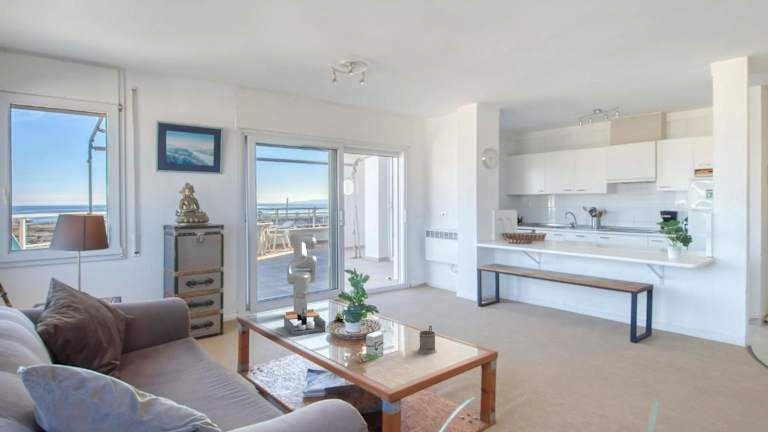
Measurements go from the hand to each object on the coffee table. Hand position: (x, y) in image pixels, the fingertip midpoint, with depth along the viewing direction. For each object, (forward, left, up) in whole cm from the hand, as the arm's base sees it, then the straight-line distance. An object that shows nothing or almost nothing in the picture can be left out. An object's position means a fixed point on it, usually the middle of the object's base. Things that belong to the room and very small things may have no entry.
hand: (302, 322), depth 256 cm
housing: (-6, +3, -6) cm, 9 cm away
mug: (+60, +53, -6) cm, 80 cm away
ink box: (+57, +23, -6) cm, 61 cm away
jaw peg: (+1, 0, -6) cm, 6 cm away
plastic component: (-17, +38, -7) cm, 42 cm away
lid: (-12, +3, +1) cm, 13 cm away
